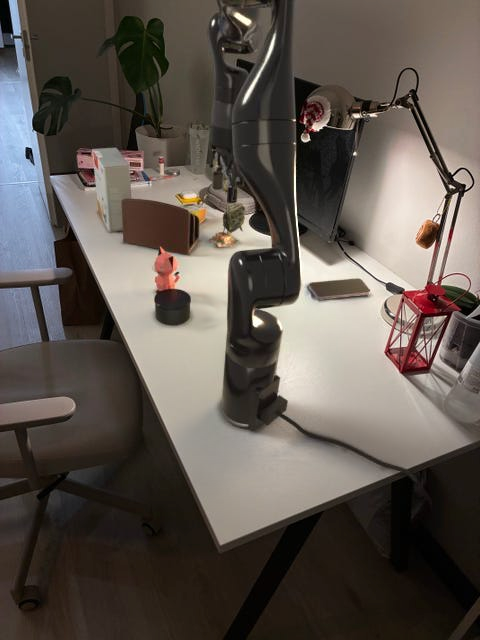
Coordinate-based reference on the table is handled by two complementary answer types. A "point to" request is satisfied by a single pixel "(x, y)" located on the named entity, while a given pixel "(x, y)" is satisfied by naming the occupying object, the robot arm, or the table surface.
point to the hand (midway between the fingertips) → (224, 195)
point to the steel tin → (172, 306)
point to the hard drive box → (111, 185)
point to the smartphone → (339, 288)
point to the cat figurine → (165, 270)
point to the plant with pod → (229, 222)
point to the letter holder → (159, 225)
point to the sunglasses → (198, 212)
